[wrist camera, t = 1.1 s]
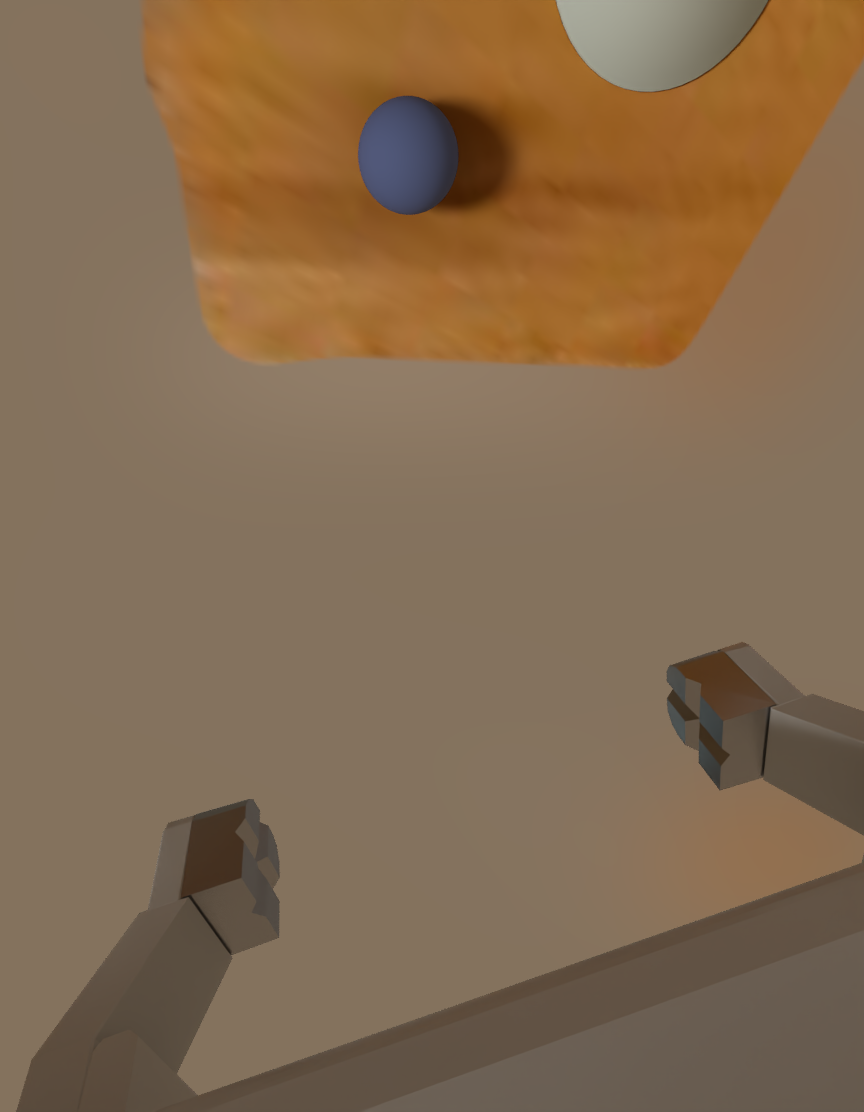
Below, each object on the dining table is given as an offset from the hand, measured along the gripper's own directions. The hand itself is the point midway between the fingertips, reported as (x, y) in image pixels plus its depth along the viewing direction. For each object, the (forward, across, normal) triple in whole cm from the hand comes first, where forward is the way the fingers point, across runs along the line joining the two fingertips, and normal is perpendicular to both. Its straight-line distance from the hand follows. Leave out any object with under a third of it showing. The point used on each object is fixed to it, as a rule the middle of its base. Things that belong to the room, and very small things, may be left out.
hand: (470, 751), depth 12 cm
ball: (+32, -7, -10) cm, 34 cm away
